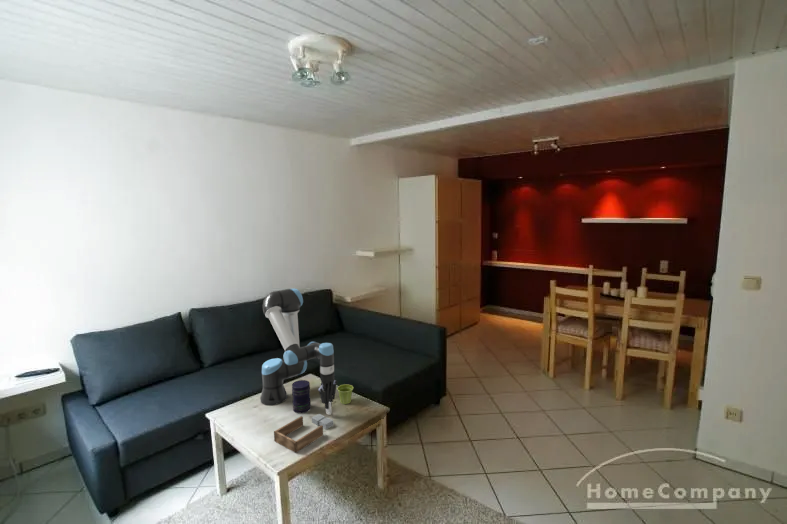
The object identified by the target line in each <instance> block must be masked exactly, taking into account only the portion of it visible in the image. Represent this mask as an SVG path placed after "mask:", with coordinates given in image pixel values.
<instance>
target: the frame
mask: <svg viewBox="0 0 787 524" xmlns="http://www.w3.org/2000/svg"><path fill="white" fill-rule="evenodd" d="M301 427H304V416H302V415H301V416H299V417H297V418H296V419H294V420H292V421H290V422H289V423H287V424H285V425H283V426H281V427H279V428H277V429H276V430H273V438H274V439H273V441H274V442H276V443H277V444H278V445H280V446H282V447H285V448H286V449H287V450H290V451H291V452H293V453H295V454H297V453H298V452H300V451H301V450H303V449H304V448H306V447H307V446H309V445H311V444H312V443H313V442H315V441H317V440H318V439H320V438H321V437H323V436H324V428H323V426H322V425H321V426H320V425H318V427H316V428H314V429H313V430H311V431H309V432H308V433H307V434H304V435H303V436H302V437H300V438H298V439H296V440H295V439H293V438H290V437H289V436H288V435H289V434H292V433H293V432H295V431H297V430H298V429H300V428H301Z"/></svg>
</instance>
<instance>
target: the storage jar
mask: <svg viewBox="0 0 787 524" xmlns="http://www.w3.org/2000/svg"><path fill="white" fill-rule="evenodd" d="M310 393H311V385H310V381H309V380H306V379H301V380H296V381H294V382H292V384H291V394H292V408H293V410H292V411H293V412H294V413H296V414H305V413H307V412H309V411H310V410H311V396H310Z"/></svg>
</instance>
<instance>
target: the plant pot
mask: <svg viewBox="0 0 787 524" xmlns="http://www.w3.org/2000/svg"><path fill="white" fill-rule="evenodd" d="M353 390H354V386H353V384H352V385H351V384H345V383H344V384H340V385H339V386H338V387H336V391H337V393H338V396H339V402H340V404H342V405H348V404H350V403H351V401H352V395H353Z"/></svg>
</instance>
